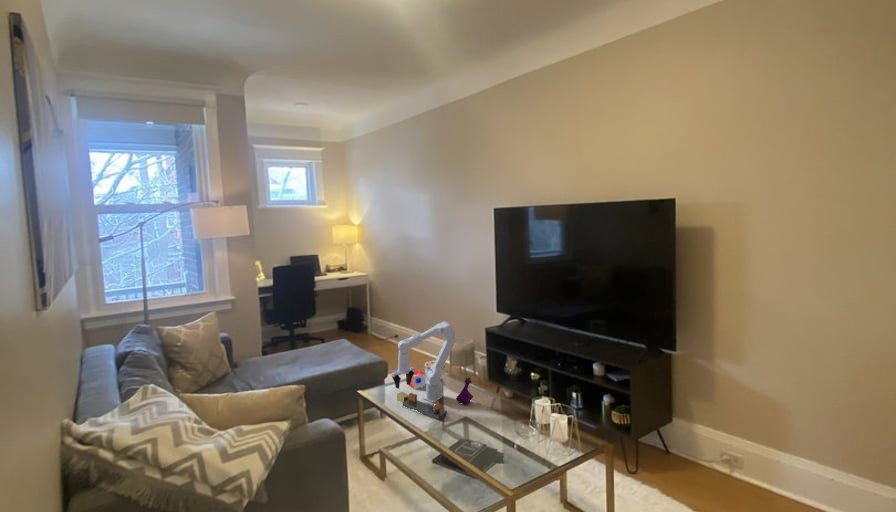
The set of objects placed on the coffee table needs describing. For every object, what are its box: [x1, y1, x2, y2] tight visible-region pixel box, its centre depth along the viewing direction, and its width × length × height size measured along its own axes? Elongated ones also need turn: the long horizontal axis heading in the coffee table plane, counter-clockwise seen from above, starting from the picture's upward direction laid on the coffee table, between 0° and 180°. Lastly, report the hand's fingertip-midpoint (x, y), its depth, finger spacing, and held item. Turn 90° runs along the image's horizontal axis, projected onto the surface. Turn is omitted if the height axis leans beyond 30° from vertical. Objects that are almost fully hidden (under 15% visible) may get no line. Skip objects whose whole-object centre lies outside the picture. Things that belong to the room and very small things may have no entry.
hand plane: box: [402, 392, 448, 421], centre depth 249 cm, size 7×24×7 cm, turn 55°
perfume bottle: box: [455, 371, 474, 405], centre depth 260 cm, size 8×8×18 cm
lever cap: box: [396, 391, 409, 404], centre depth 260 cm, size 4×6×4 cm, turn 45°
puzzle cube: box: [408, 369, 427, 390], centre depth 282 cm, size 8×8×8 cm
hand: (402, 386), depth 260 cm, fingers open, 7 cm apart
